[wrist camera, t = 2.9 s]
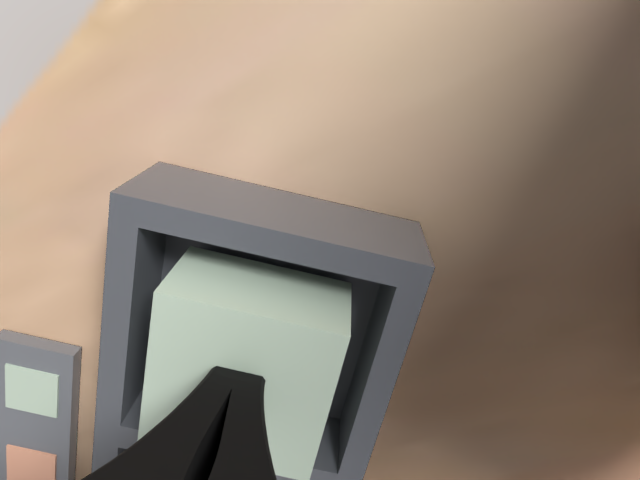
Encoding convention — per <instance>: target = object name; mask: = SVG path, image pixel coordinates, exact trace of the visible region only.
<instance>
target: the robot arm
mask: <svg viewBox="0 0 640 480" xmlns="http://www.w3.org/2000/svg"><path fill="white" fill-rule="evenodd" d="M265 382H266V380H265V379H264V378H263V376H260V375H255V374H251V373H246V372H242V371H237V370H233V369H229V368H224V367H220V366H215V367H213V368H212V369H211V370H210V371H209V373H208V374H207V375H206V376H205V378H204V379H203V380H202V381H201V382H200V383H199V384H198V386H197V387H196V388H195V389H194V390H193V391H192V392H191V393H190V394H189V395H188V396H187V397H186V398H185V399H184V400H183V401H182V402H181V403H180V404H179V405H178V406H177V407H176V408H175V409H174V410H173V411H172V412H171V413H170V414H169V415H168V416H166V417H165V418H164V419H163V420H162V421H161V422H160V423H158V424H157V425H156V426H155V427H154V428H153V429H151V430H150V431H149V432H148V433H147V434H146V435H144V436H143V437H142V438H141V439H139V440H138V441H137V442H136V443H134V444H133V445H132V446H130V447H129V448H128V449H126V450H125V451H124V452H122V453H121V454H119V455H118V456H117V457H115V458H114V459H112V460H111V461H109V462H108V463H106V464H105V465H103V466H102V467H100V468H99V469H97V470H96V471H94V472H93V473H91V474H89V475H88V476H86V477H85V478H83V479H81V480H277V479H276V475H275V471H274V467H273V463H272V458H271V454H270V449H269V443H268V437H267V430H266V423H265V413H264V387H265Z"/></svg>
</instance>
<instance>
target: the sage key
mask: <svg viewBox="0 0 640 480" xmlns="http://www.w3.org/2000/svg"><path fill="white" fill-rule="evenodd" d="M351 292H352V283H349V282H345V281H341V280H336V279H332V278H328V277H323V276H319V275H315V274H310V273H306V272H302V271H297V270H293V269H289V268H284V267H280V266H276V265H271V264H267V263H262V262H258V261H254V260H249V259H245V258H241V257H236V256H232V255H228V254H223V253H219V252H215V251H210V250H206V249H202V248H197V247H193V246H190V247H189V248H188V250H187V251H186V252H185V253H184V255H183V256H182V257H181V258H180V260H179V261H178V262H177V263H176V265H175V266H174V267H173V268H172V270H171V271H170V272H169V273H168V275H167V276H166V277H165V278H164V280H163V281H162V282H161V283H160V285H159V286H158V287H157V288H156V290H155V291H154V293H153V302H152V312H151V321H150V330H149V339H148V348H147V357H146V366H145V376H144V385H143V394H142V403H141V412H140V421H139V431H138V440H139V439H141V438H142V437H143V436H144V435H146V434H147V433H148V432H149V431H150V430H151V429H153V428H154V427H155V426H156V425H157V424H158V423H160V422H161V421H162V420H163V419H164V418H165V417H166V416H168V415H169V414H170V413H171V412H172V411H173V410H174V409H175V408H176V407H177V406H178V405H179V404H180V403H181V402H182V401H183V400H184V399H185V398H186V397H187V396H188V395H189V394H190V393H191V392H192V391H193V390H194V389H195V388H196V387H197V386H198V384H199V383H200V382H201V381H202V380H203V379H204V378H205V376H206V375H207V374H208V373H209V371H210V370H211V369H212V368H213V367H215V366H220V367H224V368H229V369H233V370H237V371H242V372H246V373H251V374H255V375H260V376H263V378H264V379H265V380H266V382H265V387H264V413H265V423H266V430H267V437H268V443H269V449H270V454H271V458H272V463H273V467H274V471H275V475H278V476H282V477H287V478H291V479H296V480H310V477H311V473H312V470H313V466H314V463H315V459H316V456H317V452H318V449H319V445H320V442H321V438H322V435H323V431H324V428H325V425H326V421H327V418H328V414H329V411H330V407H331V404H332V400H333V397H334V393H335V390H336V386H337V383H338V379H339V376H340V372H341V369H342V365H343V362H344V358H345V355H346V352H347V348H348V345H349V341H350V338H351ZM138 440H137V441H138Z"/></svg>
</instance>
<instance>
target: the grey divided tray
mask: <svg viewBox="0 0 640 480" xmlns="http://www.w3.org/2000/svg"><path fill="white" fill-rule="evenodd" d="M190 246H193V247H197V248H202V249H206V250H210V251H215V252H219V253H223V254H228V255H232V256H236V257H241V258H245V259H249V260H254V261H258V262H262V263H267V264H271V265H276V266H280V267H284V268H289V269H293V270H297V271H302V272H306V273H310V274H315V275H319V276H323V277H328V278H332V279H336V280H341V281H345V282H349V283H352V292H351V338H350V341H349V345H348V348H347V352H346V355H345V358H344V362H343V365H342V369H341V372H340V376H339V379H338V383H337V386H336V390H335V393H334V397H333V400H332V404H331V407H330V411H329V414H328V418H327V421H326V425H325V428H324V431H323V435H322V438H321V442H320V445H319V449H318V452H317V456H316V459H315V463H314V466H313V470H312V473H311V477H310V480H363V477H364V474H365V471H366V468H367V465H368V462H369V460H370V457H371V454H372V451H373V448H374V445H375V442H376V439H377V436H378V433H379V430H380V427H381V424H382V421H383V418H384V416H385V413H386V410H387V407H388V404H389V401H390V398H391V395H392V392H393V389H394V386H395V383H396V380H397V377H398V375H399V372H400V369H401V366H402V363H403V360H404V357H405V354H406V351H407V348H408V345H409V342H410V339H411V336H412V334H413V331H414V328H415V325H416V322H417V319H418V316H419V313H420V310H421V307H422V304H423V301H424V298H425V295H426V292H427V290H428V287H429V284H430V281H431V278H432V275H433V272H434V269H435V266H434V263H433V260H432V257H431V254H430V251H429V248H428V246H427V243H426V240H425V237H424V234H423V231H422V228H421V225H420V223H419V222H416V221H412V220H407V219H403V218H399V217H394V216H390V215H386V214H382V213H377V212H373V211H369V210H364V209H360V208H356V207H352V206H347V205H343V204H339V203H334V202H330V201H326V200H321V199H317V198H313V197H309V196H304V195H300V194H296V193H291V192H287V191H283V190H279V189H274V188H270V187H266V186H261V185H257V184H253V183H249V182H244V181H240V180H236V179H231V178H227V177H223V176H219V175H214V174H210V173H206V172H201V171H197V170H193V169H188V168H184V167H180V166H176V165H171V164H167V163H163V162H158V163H156V164H155V165H153V166H152V167H150V168H148V169H147V170H145V171H144V172H142V173H140V174H139V175H137V176H135V177H134V178H132V179H131V180H129V181H127V182H126V183H124V184H123V185H121V186H119V187H118V188H116V189H115V190H113V191H111V192H110V203H109V218H108V233H107V248H106V263H105V278H104V293H103V308H102V323H101V338H100V353H99V368H98V383H97V398H96V413H95V428H94V443H93V458H92V473H93V472H94V471H96V470H97V469H99V468H100V467H102V466H103V465H105V464H106V463H108V462H109V461H111V460H112V459H114V458H115V457H117V456H118V455H119V454H121V453H122V452H124V451H125V450H126V449H128V448H129V447H130V446H132V445H133V444H134V443H136V442H137V440H138V431H139V421H140V412H141V403H142V394H143V385H144V376H145V366H146V357H147V348H148V339H149V330H150V321H151V312H152V302H153V293H154V291H155V290H156V288H157V287H158V286H159V285H160V283H161V282H162V281H163V280H164V278H165V277H166V276H167V275H168V273H169V272H170V271H171V270H172V268H173V267H174V266H175V265H176V263H177V262H178V261H179V260H180V258H181V257H182V256H183V255H184V253H185V252H186V251H187V250H188V248H189V247H190ZM276 479H277V480H296V479H291V478H287V477H282V476H278V475H276Z"/></svg>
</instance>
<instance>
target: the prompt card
mask: <svg viewBox="0 0 640 480" xmlns="http://www.w3.org/2000/svg"><path fill="white" fill-rule="evenodd" d="M81 350H82V347H80V346H75V345H71V344H66V343H62V342H57V341H53V340H49V339H44V338H40V337H35V336H31V335H26V334H22V333H17V332H13V331H8V330H4V329H3V330H2V331H0V480H75V469H76V449H77V429H78V410H79V390H80V370H81Z"/></svg>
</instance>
